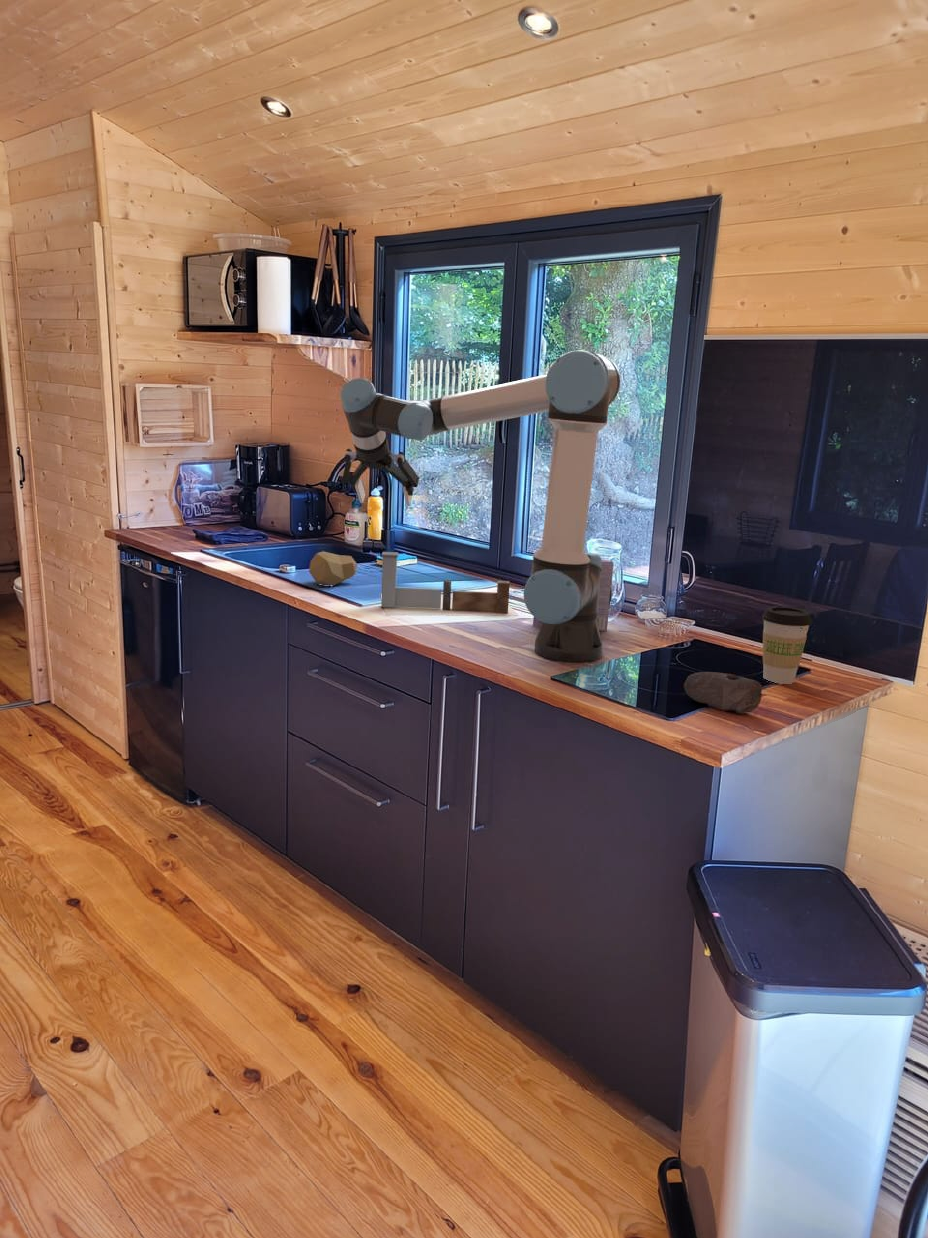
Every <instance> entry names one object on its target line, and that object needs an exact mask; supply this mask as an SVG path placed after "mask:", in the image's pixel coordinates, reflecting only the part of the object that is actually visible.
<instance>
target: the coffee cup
mask: <svg viewBox="0 0 928 1238" xmlns="http://www.w3.org/2000/svg"><path fill="white" fill-rule="evenodd" d="M810 614H811V613H810V612H809V611H808V610H805V609H801V608H798V607H792V606H777V605H774V606H768V607H767V608H766V609H765V611H764V613H763V614H762V616H761V618H762V620H763V630H762V663H763V666H762V667H763V672H762V673H763V674H762V675H763V676H762V677H763V678H764V679H766V680H768V681H771V682H774V683H779V684H778V685H782V684H789V685H793V684H794V683H795V679H796V676H797V672H798V668H799V667H800V662H801V659H802V657H803V652H804V649H805V644H806V643H807V637H808V636H807V633H808V631H809V626H810V625H812V623H813V621H812V618H811V616H810ZM764 679H763V680H764ZM768 681H767V682H768ZM771 682H770V683H771ZM774 683H773V684H774ZM792 683H793V684H792Z"/></svg>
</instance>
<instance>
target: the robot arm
mask: <svg viewBox="0 0 928 1238" xmlns="http://www.w3.org/2000/svg"><path fill="white" fill-rule="evenodd" d="M620 388H621V376H620V371H619V368H618V367H617V365H616V364H615V362H614V361H613V360H612V359H610V358H609V357H607V355H603V354H601V353H597V352H593V351H592V350H591V351H590V350H586V349H582V350H581V349H580V350H579V349H578V350H577V349H576V350H572V351H569V352H566V353H564V354H562V355H560V356H559V357H557V358H556V359H555V360H554V362H552V364H551V365H550V367H549V369H548V371H547V374H544V375H539V376H534V377H529V378H524V379H520V380H516V381H511V382H510V381H509V382H506V383H502V384H496V385H492V386H486V387H482V388H478V389H473V390H468V391H464V392H459V393H453V394H450V395H444V396H439V397H434V398H430V399H424V400H421V399H420V400H413V399H412V400H411V399H409V400H408V399H402V398H399V397H398V398H397V397H393V396H388V395H386V394H383V393H379V392H377V391H376V390H377V389H376V388H375V386H374V384H373V383H372V382H371V381H370V380H369V379H366V378H361V377H358V378H353V379H350V380H348V381H347V382H346V383H345V384H344V385H343V386H342V388H341V390H340V399H341V406H342V410H343V412H344V415H345V418H346V421H347V424H348V428H349V432H350V436H351V440H352V443H353V446H354V450H355V451H352V449H351V448H347V449H346V451H345V454H344V456H343V457H344V461H345V465H344V470H343V474H342V480H341V482H342V483H344V484H346V483H349V485H350V486H351V488H352V491H353V492H354V493H356V495H357V498H358V501H359V503H360V504H363V503H364V502H365V498H366V491H365V489H364V485H363V482H362V478H361V476H362V475H363V474H364V472H365V471H366V470H367V469H369V470H381V471H384V472H385V473H386V474H389V475H390V476H391V477H393V478H394V479H395V480H396V481H398V482H399V483H400V484H401V485H402V491H403V495H404V499H405V504H406V507H411V503H412V499H413V495H414V491H415V489H414V488H417V487H418V484H419V481H420V477H419V476H418V474H417V473H416V471H415V470H414V469H413V467H412V466H411V465H410V463H409V462H408V460H407V459H406V456H405V453H404V452H403V451H399V453H397V454H396V453H395V454H394V453H393V452H392V451H390V447H389V442H388V438H387V434H386V433H388V434H391V435H395V436H398V437H402V438H404V439H406V440H414V441H424V440H425V439H426V438H427V437H428V436H431V435H438V434H440V433H442V432H443V433H444V432H448V431H452V430H458V429H462V428H468V427H474V426H479V425H485V424H488V423H494V422H501V421H503V420H504V421H505V420H509V419H514V418H521V417H525V416H531V415H535V414H541V413H545V412H548V415H547V420H548V421H549V422H550V424H551V425H552V427H553V429H554V432H553V439H552V440H553V441H552V448H551V449H552V450H551V459H550V467H549V477H548V486H547V494H546V495H547V496H546V504H545V513H544V514H545V515H544V521H543V522H544V524H543V530H542V531H543V533H542V539H541V540H542V541H541V546H540V547H539V549H537V550H536V551H535V552H534V553H533V556H532V557H533V558H532V564H531V565H532V566H531V574H530V576H529V577H528V579H527V581H526V583H525V585H524V586H523V587H524V588H523V601H524V604H525V606H526V608H527V609H526V610H528V612H529V613H530V614H531V615H532V616H533V618H534V617H535V618H536V619H538V620H540V621H542V622H543V623H542V625H541V628H540V629H539V631H538V632H537V635H536V638H535V642H534V652H535V653H536V654H538V655H539V656H542V657H544V658H548V659H551V660H557V661H562V662H563V661H564V662H578V663H579V662H590V661H591V662H592V661H595V660H598V659H600V658H601V657H603V656H602V655H603V648H604V647H603V641H602V637H601V633H600V631H599V628H598V624H597V613H598V602H599V591H600V579H601V571H602V560H603V559H602V558H601V556H600V555H599V554H597V553H591V552H585V550H584V549H585V540H586V532H587V525H588V524H587V523H588V515H589V508H590V507H589V506H590V499H591V492H592V483H593V482H592V481H593V475H594V467H595V466H594V465H595V457H596V450H597V449H596V448H597V441H598V434H599V431H601V430H602V429H604V427H605V426H606V425H607V421H608V415H609V406H610V405H611V404H612V403H613V402H614V401H615V400H616V397H617V396H618V394H619V391H620ZM355 460H357V461H358V462H359V464H358V466H357V467H356V468H355V470H354V471H353V472H351V467H352V464H353V462H354V461H355ZM350 472H351V473H352V474H351V473H350Z"/></svg>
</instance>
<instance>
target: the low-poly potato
mask: <svg viewBox="0 0 928 1238" xmlns="http://www.w3.org/2000/svg"><path fill="white" fill-rule="evenodd" d="M357 568H358V563H357V562H356V561H355V559H354V558H353V557H352V555H343V554H342V555H341V554H336V553H331V552H327V551H320V552H317V553H315V555H314V556H313V558H312V559H311V560H310V563H309V570H308V572H309V574H310V575H311V577H312V578H313V580H314V582H315V583H316V584H317V585H318V584H322V585H329V586H330V585H334V586H336V585H337V584H339V583H342V582H345V581H346V580H349V579H350V578H353V577H354V576H355V575H356V572H357ZM322 585H321V586H322Z"/></svg>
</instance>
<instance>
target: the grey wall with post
mask: <svg viewBox="0 0 928 1238" xmlns="http://www.w3.org/2000/svg"><path fill="white" fill-rule="evenodd" d="M398 557H399V552H398V551H397V552H396V551H395V552H394V551H393V552H392V551H382V553H381V558H382V562H381V563H382V569H381V572H382V573H381V594H382V600H381V599H380V601H381V608H384V607H392V608H395V607H414V608H436V609H440V608H441V594H442V588H430V587H429V588H428V587H410V586H409V587H408V586H407V587H406V586H397V581H398V580H397V576H398Z"/></svg>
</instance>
